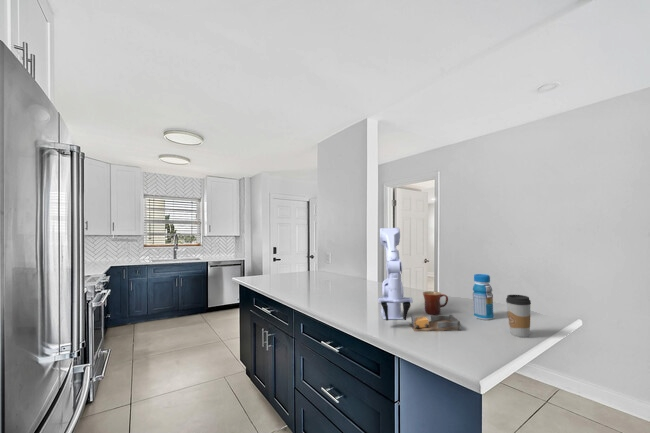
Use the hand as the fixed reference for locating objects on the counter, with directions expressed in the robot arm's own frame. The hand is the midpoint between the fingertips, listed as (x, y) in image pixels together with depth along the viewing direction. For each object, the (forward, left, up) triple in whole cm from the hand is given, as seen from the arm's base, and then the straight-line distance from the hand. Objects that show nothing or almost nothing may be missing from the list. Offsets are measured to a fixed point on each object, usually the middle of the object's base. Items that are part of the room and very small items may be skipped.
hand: (395, 319), depth 129 cm
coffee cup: (+46, -10, -4) cm, 48 cm away
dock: (+16, 0, -4) cm, 17 cm away
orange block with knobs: (+10, 0, -3) cm, 11 cm away
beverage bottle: (+43, +13, -4) cm, 46 cm away
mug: (+23, +20, -4) cm, 31 cm away
